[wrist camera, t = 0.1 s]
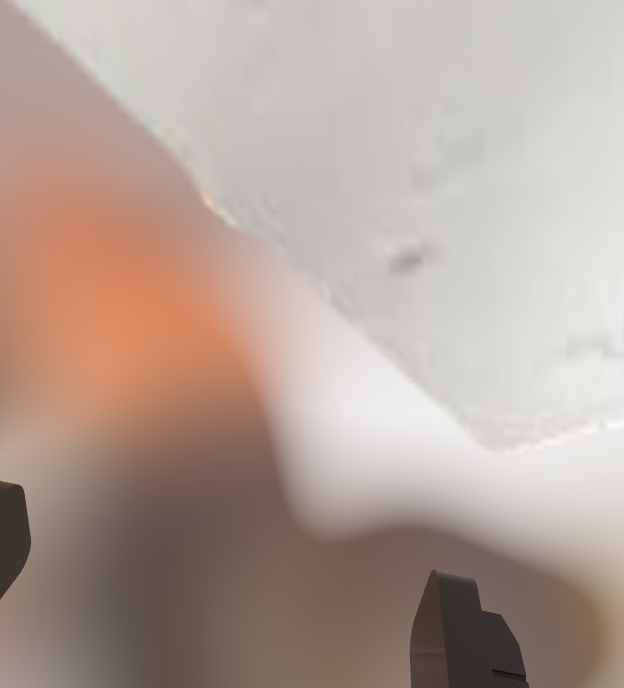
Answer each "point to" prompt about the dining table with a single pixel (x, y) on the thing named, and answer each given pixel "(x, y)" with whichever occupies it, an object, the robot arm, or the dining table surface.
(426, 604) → the robot arm
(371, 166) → the dining table surface
